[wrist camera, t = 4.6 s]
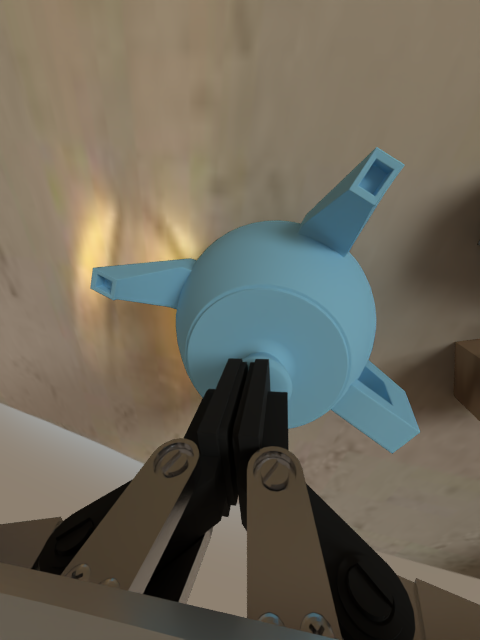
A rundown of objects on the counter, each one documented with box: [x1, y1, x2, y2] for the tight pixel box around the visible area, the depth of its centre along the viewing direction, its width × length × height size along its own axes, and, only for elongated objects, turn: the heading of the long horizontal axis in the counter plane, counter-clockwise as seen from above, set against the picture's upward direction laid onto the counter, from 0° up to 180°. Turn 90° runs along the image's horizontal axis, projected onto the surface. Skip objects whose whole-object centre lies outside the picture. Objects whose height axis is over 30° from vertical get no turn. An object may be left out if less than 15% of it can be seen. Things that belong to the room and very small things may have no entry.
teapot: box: [91, 147, 420, 454], centre depth 15 cm, size 15×15×11 cm
